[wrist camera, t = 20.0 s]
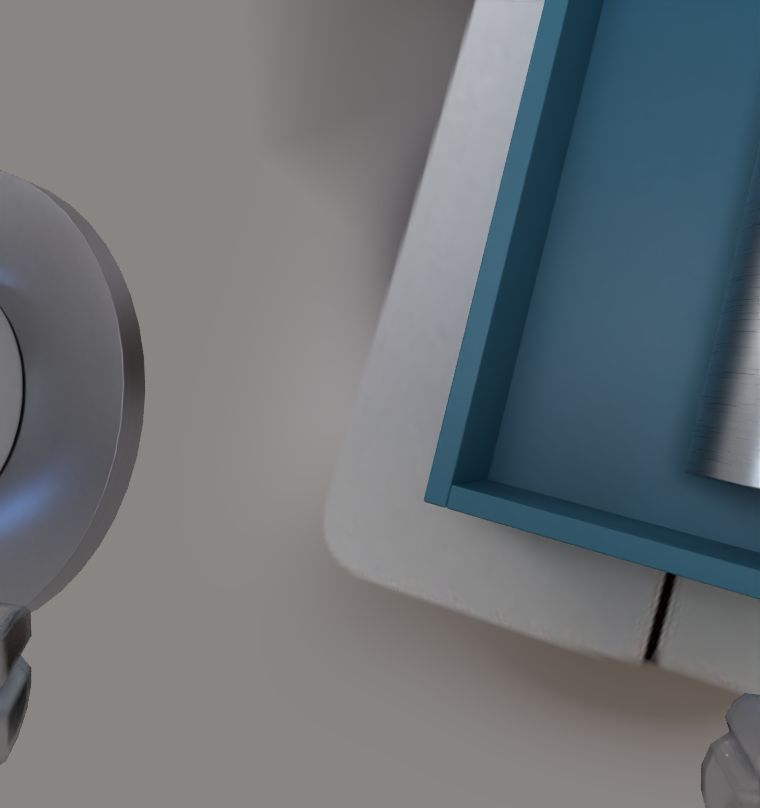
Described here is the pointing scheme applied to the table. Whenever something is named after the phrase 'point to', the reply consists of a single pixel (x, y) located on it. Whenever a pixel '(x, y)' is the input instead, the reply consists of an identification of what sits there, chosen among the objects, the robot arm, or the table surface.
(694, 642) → the table surface
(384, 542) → the table surface
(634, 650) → the table surface
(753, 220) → the slim can
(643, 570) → the table surface
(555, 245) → the blue open box
